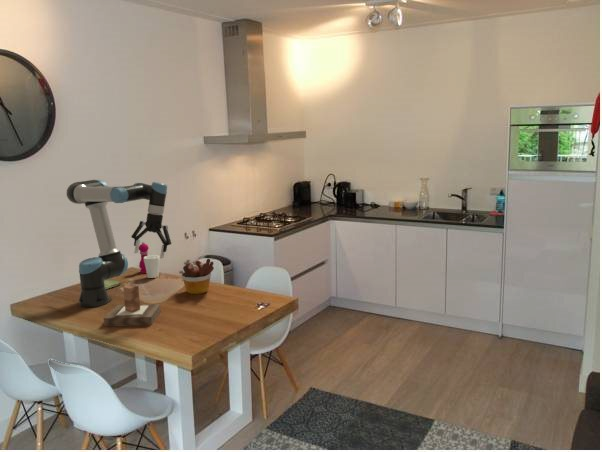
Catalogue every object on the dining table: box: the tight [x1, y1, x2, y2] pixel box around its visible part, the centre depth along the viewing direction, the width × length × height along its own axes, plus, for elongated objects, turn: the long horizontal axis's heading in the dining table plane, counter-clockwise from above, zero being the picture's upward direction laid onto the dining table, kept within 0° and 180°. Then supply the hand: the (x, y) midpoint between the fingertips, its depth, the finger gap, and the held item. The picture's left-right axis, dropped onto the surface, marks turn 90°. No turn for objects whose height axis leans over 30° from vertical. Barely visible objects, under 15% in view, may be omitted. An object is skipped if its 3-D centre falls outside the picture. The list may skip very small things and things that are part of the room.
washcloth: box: [104, 279, 122, 291], centre depth 310 cm, size 13×18×3 cm
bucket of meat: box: [178, 258, 215, 295], centre depth 294 cm, size 20×16×20 cm
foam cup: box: [144, 254, 161, 279], centre depth 324 cm, size 10×9×13 cm
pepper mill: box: [138, 241, 150, 274], centre depth 336 cm, size 7×7×20 cm
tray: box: [103, 303, 162, 327], centre depth 255 cm, size 22×18×4 cm
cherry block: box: [122, 283, 141, 313], centre depth 254 cm, size 5×5×12 cm
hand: (148, 255), depth 264 cm, fingers open, 13 cm apart
